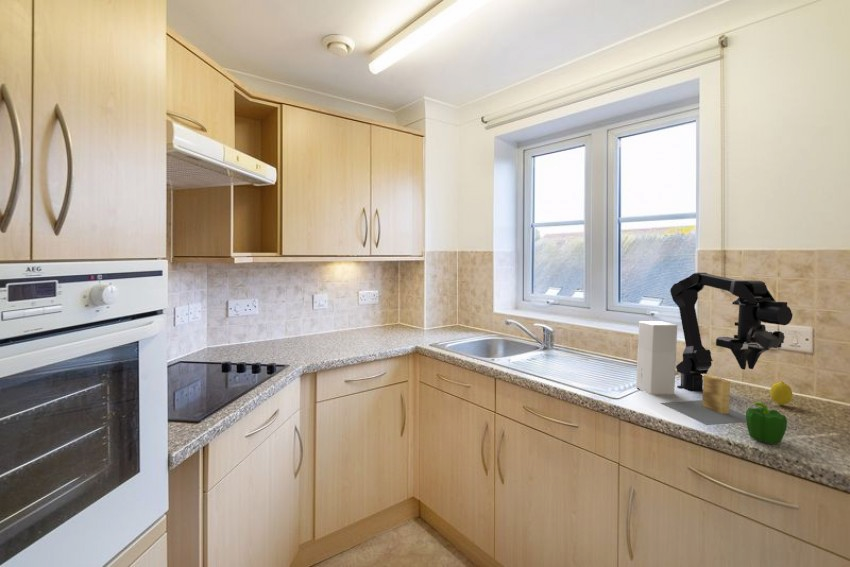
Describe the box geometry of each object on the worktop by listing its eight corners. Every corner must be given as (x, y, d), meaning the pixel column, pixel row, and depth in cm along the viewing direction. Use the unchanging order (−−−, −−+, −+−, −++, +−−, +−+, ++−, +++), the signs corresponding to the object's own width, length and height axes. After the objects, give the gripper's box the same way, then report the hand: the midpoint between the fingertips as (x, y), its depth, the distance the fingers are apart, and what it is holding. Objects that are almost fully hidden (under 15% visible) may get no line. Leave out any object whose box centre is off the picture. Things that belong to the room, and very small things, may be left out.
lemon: (795, 409, 131) (796, 384, 131) (773, 407, 133) (775, 383, 133) (786, 403, 136) (788, 380, 136) (766, 401, 138) (767, 378, 138)
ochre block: (702, 405, 132) (703, 375, 132) (709, 405, 133) (710, 374, 132) (721, 413, 125) (723, 381, 125) (728, 413, 126) (730, 381, 125)
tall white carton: (635, 388, 152) (638, 321, 150) (658, 387, 153) (661, 320, 151) (650, 396, 143) (653, 324, 142) (674, 395, 144) (677, 324, 142)
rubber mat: (659, 404, 135) (659, 402, 135) (707, 401, 138) (707, 399, 138) (706, 426, 117) (706, 424, 117) (759, 422, 120) (759, 420, 120)
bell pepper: (787, 440, 109) (789, 403, 108) (784, 450, 103) (786, 411, 102) (747, 431, 115) (749, 395, 114) (742, 439, 109) (744, 402, 108)
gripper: (749, 325, 120) (746, 377, 121) (801, 323, 123) (798, 375, 124) (715, 319, 131) (713, 367, 132) (764, 318, 134) (762, 365, 135)
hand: (746, 369), depth 130 cm, fingers open, 3 cm apart
